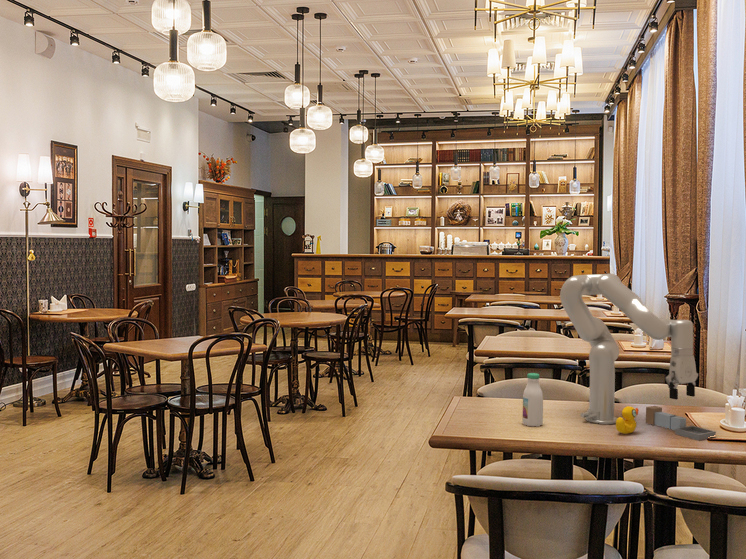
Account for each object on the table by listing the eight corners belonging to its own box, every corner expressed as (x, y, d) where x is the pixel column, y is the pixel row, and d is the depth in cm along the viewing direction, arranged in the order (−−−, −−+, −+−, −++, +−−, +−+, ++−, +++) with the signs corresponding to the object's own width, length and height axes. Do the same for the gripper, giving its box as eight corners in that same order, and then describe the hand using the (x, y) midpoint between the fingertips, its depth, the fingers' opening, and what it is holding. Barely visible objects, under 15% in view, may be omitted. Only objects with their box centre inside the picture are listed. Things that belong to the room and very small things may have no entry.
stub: (679, 432, 257) (680, 418, 257) (670, 429, 261) (670, 416, 261) (685, 431, 259) (686, 417, 259) (676, 428, 263) (677, 415, 262)
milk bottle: (544, 423, 269) (545, 373, 268) (540, 427, 262) (541, 376, 261) (524, 421, 272) (525, 371, 271) (520, 425, 265) (521, 374, 264)
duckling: (631, 429, 261) (631, 403, 260) (643, 432, 256) (643, 406, 256) (611, 433, 255) (612, 407, 254) (623, 437, 250) (624, 410, 250)
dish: (698, 440, 246) (698, 434, 246) (675, 434, 254) (675, 428, 254) (715, 437, 251) (715, 431, 251) (692, 430, 259) (692, 425, 259)
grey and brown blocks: (668, 429, 261) (668, 412, 261) (645, 423, 270) (646, 407, 270) (677, 427, 263) (677, 411, 263) (654, 421, 273) (654, 405, 272)
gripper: (675, 355, 251) (675, 401, 251) (705, 351, 259) (705, 396, 260) (658, 353, 257) (658, 398, 258) (688, 349, 266) (688, 393, 266)
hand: (682, 397), depth 259 cm, fingers open, 9 cm apart
